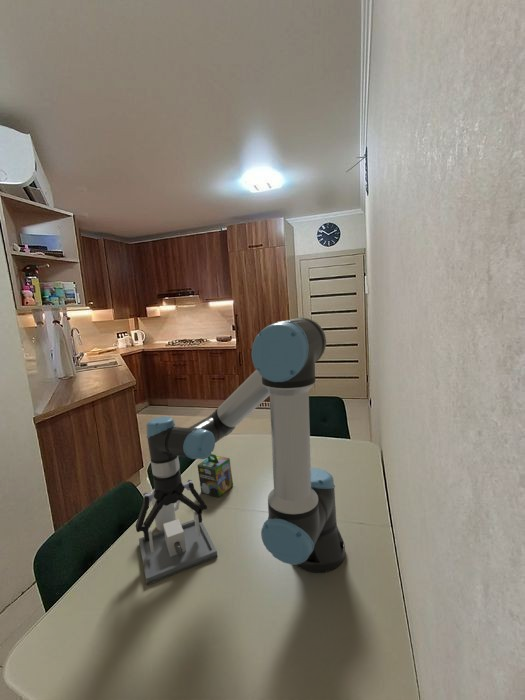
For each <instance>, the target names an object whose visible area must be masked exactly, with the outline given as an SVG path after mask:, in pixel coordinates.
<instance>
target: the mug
mask: <svg viewBox="0 0 525 700" xmlns="http://www.w3.org/2000/svg"><path fill="white" fill-rule="evenodd" d="M154 490H155V488H153V489H152V490H151V492H150V494H151V493H154ZM155 502H156V499H155V498H153V499H152V501H151V503H152V508H153V507H154V505H155ZM180 502H181V501H179V500H178V501H177V502H176V503H171V504H169V505H167V506H166V505H163V507H162V509H161V510H160V511H159V512H158V514H157V516H156V517H155V519H154V522H155V527H156V529H157V530H158V532H160V531H163V530H164V526H163V524H165V523H168V522H171V521H174V520H177V519H176V512H177V510H179V507H180Z"/></svg>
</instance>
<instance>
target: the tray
mask: <svg viewBox="0 0 525 700" xmlns="http://www.w3.org/2000/svg"><path fill="white" fill-rule="evenodd" d="M181 526H182V528H183V531H184V537H185V545H186V551H185V552H183V554H182V556H178V555H174V556H171V557H170V555H169V552H168V548H167V545H166V541H165V533H164V530H163V531H157V532H154V533H152V540H153V547H154V552H153V553H151V549H150V543H149V541H147V542H146V541H145V538H144V536H143V537H140V538H138V542H139V549H140V553H141V559H142V565H143V569H144V570H143V571H144V575H145V576H144V577H145V581H146V586H149V585H151V584H154V583H156V582H159V581H161V580H163V579H166V578H168V577H169V578H170V577H171V576H174V575H175V574H176V575H177V574H179V573H181V572H184V571H186V570H188V569H191V568H193V567H195V566H198V565H200V564H203V563H205V562H208V561H211V560H213V559H216V558H218V550H217V548H216V546H215V544H214V542H213V540H212V539H211V536H210V535H209V533H208V531H207V529H206V527H205V525H204V522H203V521H202V522H201V523H199V527H200V535H199V536H198V535H197V532H196V529H195V521H194V519H192V520H190V521H186V522H183V523H181Z"/></svg>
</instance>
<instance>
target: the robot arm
mask: <svg viewBox="0 0 525 700" xmlns="http://www.w3.org/2000/svg"><path fill="white" fill-rule="evenodd" d="M326 347H327V337H326V334H325V332H324V330H323V328H322V326H320V325H319V324H318V322H316V321H314V320H312V319H311V318H307V317H296V318H292V319H286V320H281V321H276V322H273V323H272V324H268V325H267V326H266V327H264V328H263V329H261V330H260V331H259V333H257V335H256V336H255V338H254V340H253V343H252V347H251V361H252V364H253V366H254V368H255V370H254V371H253V372H252V373H251V374H250V375H249V376H248V377H247V378H245V380H244V381H243V382H242V383H241V384H240V385H239V386H238V387H237V389H235V390H234V391H233V392H232V393H231V394H230V395H229V396H228V397H227V398H226V399H225V400H224V401H223V402H222V403H221V404H220V405H219V406H218V407H217V408H216V409H215V410H214V411H213V412H212V413H211V414H210V415H209V416H207V417H206V418H204V419H202V420H200V421H198V422H196V423H195V424H193V425H191V426H189V427H180V426H176V424H175V420H174V419H173V417H171V416H158V417H155V418H152V419H151V420H149V421H148V422H147V423H146V425H145V426H146V438H147V444H148V450H149V456H150V457H149V458H150V464H151V465H150V466H151V471H152V479H153V486H154V487H153V490H154V489H155V490H154V493H151V492H150V493H147V492H144V493H143V495H142V496H143V501H142V505H141V507H140V511H139V514H138V517H137V521H136V523H135V531H136V532H137V533H140V532H143V537H144V538H145V541H146V542H147V541H149V543H150V549H151V553H153V552H154V547H153V540H152V534H153V532H152V529H151V526H152V524H153V522H155V517H156V516H157V514H158V512H159V511H160V510H161V509H162V507H163V505H166V506H167V505H169V504H171V503H174V504H176V502H177V501H178V500H179V501H180V502H181V503H183V504H185V505H186V506H187V507H188V508H190V509H191V510H192V513H193V520H194V521H195V529H196V532H197V535H198V536H199V535H200V527H199V523H201V522H202V523H203V516H202V513H203V510H207V509H208V506H207V504H206V502H205V501H204V500H203V498H202V497H201V496H200V494H199V493H198V491H197V490H196V489H195V487H194V486H195V485H194V483H193V481H192V479H188V480H187V482H185V483H183V482H182V474H181V469H180V467H181V465H180V460H179V457H182V458H188V459H190V460H191V459H192V460H205V459H207V458H208V457H209V456H210V455H211V454H212V452H213V451H214V449H215V446H216V444H217V442H218V441H220V440H221V439H223V438H225V437H226V436H228V435H230V434H231V433H232V432H233V431H234V430H235V429H236V427H237V426H238V425H239V424H240V423H241V422H242V421H243V420H244V419H245V418H246V417H247V416H248V415H250V414H251V413H252V412H253V411H255V409H256V408H258V407H259V406H260V405H261V404H262V403H263V402H264V401H265V400H266V399H267V398H268V397H269V406H270V408H269V409H270V411H269V412H270V427H271V430H270V431H271V432H270V433H271V451H272V453H271V455H272V476H273V477H272V478H273V479H272V481H273V489H272V490H271V491H270V492H269V494H268V496H267V508H268V509H267V510H268V512H267V513H268V517H267V519H266V520H265V521H264V523H263V525H262V527H261V530H260V531H261V532H260V534H261V535H260V536H261V540H262V543H263V545H264V547H265V548H266V550H267V551H268V552H269V553H270V554H271V555H272V557H274V558H275V559H277V560H279V561H280V562H282V563H284V564H287V565H295V566H297V567H298V568H300V569H302V570H303V571H304V570H305V571H307V572H311V573H326V572H331V571H332V570H335V569H336V568H338V567H339V566H340V565H342V563H344V559H345V558H346V545H345V542H344V539H343V537H342V534H341V532H340V530H339V527H338V525H337V524H338V523H337V510H336V509H337V508H336V495H335V494H336V493H335V487H336V486H335V482H334V481H335V480H334V477H333V475H332V474H331V473H330V472H329V471H327V470H325V469H322V468H316V467H311V438H310V437H311V432H310V431H311V429H310V426H311V425H310V395H309V394H310V393H309V391H310V390H311V388H313V386H314V385H315V384H316V362H318V361H319V360H320V359H321V357H322V356H323V354H324V353H325V350H326ZM210 457H211V456H210ZM185 489H186V490H187V491H190V492H191V494H192V496H193V497H194V498H195V499H196V501H197V503H199V505H198V504H197V503H195V502H194V501H192V500H191V499H190V498H189V497H187V496H186V495H185V494H183V492H184V491H185ZM153 498H155V499H156V502H155V505H154V507H153V506H152V509H150V512H149V513H148V510H149V506H150V503H152V499H153ZM147 513H148V515H147ZM146 515H147V517H146Z"/></svg>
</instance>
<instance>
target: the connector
mask: <svg viewBox="0 0 525 700" xmlns="http://www.w3.org/2000/svg"><path fill="white" fill-rule="evenodd" d="M181 524H182V523H181V521H180V519H179V518H177V519H176V520H174V521H171V522H168V523H165V524H163V526H164V533H165V541H166V545H167V548H168V552H169V555H170V557H171V556H174V555H178V556H182V554H183V552H185V551H186V545H185V537H184V531H183V528H182V526H181Z"/></svg>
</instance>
